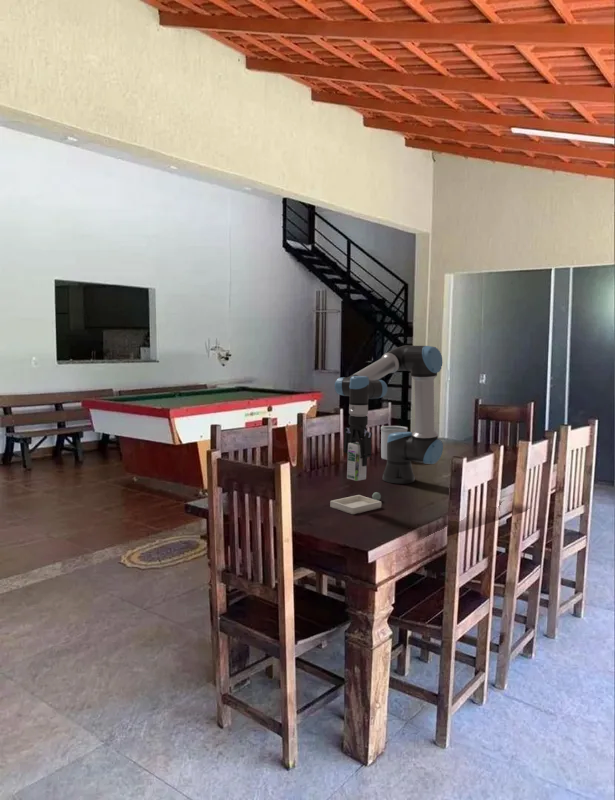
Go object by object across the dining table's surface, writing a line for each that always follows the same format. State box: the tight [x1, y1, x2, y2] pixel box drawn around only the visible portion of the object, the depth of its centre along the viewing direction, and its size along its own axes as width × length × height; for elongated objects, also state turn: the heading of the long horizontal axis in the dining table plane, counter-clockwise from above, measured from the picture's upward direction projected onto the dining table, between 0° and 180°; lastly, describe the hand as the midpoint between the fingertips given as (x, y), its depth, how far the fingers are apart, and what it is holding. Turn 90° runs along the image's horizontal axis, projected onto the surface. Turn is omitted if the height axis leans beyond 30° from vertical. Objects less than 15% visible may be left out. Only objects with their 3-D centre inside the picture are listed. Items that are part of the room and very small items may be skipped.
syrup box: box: [346, 441, 368, 482], centre depth 250 cm, size 6×6×14 cm
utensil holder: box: [380, 425, 409, 461], centre depth 350 cm, size 15×15×18 cm
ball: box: [371, 491, 382, 501], centre depth 262 cm, size 4×4×4 cm
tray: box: [329, 494, 382, 515], centre depth 252 cm, size 16×13×2 cm
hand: (356, 472), depth 250 cm, fingers closed on syrup box, 6 cm apart
